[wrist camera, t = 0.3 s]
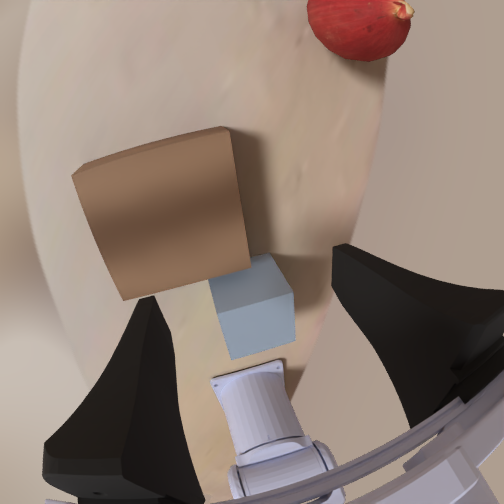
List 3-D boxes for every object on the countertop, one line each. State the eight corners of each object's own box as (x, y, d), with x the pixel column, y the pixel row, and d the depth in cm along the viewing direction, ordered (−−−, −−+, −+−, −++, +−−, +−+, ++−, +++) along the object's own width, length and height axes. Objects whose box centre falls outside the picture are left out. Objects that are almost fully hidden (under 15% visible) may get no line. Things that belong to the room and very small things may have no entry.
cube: (274, 299, 25) (295, 340, 21) (218, 315, 25) (231, 360, 20) (269, 252, 23) (293, 292, 18) (205, 268, 22) (217, 313, 18)
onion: (271, -1, 13) (336, -44, 6) (341, -17, 13) (420, -43, 6) (308, 73, 16) (389, 73, 10) (372, 51, 16) (458, 53, 9)
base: (241, 245, 22) (251, 267, 20) (126, 275, 21) (123, 301, 18) (220, 125, 17) (229, 131, 15) (84, 162, 16) (71, 175, 13)
